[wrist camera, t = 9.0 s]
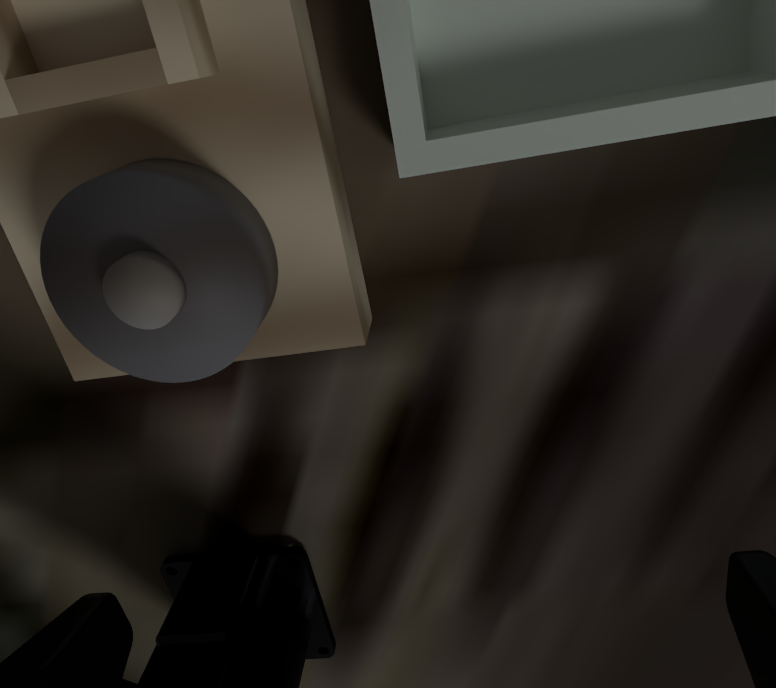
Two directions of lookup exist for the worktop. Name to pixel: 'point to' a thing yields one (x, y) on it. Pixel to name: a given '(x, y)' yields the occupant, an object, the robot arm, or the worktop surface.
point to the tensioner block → (175, 184)
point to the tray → (565, 73)
